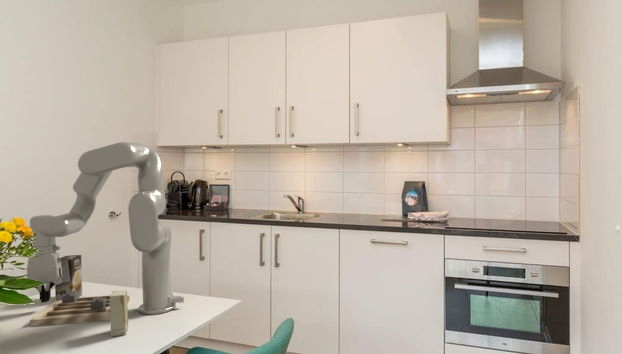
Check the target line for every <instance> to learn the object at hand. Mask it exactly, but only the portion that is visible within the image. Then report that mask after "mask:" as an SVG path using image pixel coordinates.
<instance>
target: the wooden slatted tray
mask: <svg viewBox="0 0 622 354" xmlns="http://www.w3.org/2000/svg"><path fill="white" fill-rule="evenodd" d="M98 297H101V298H106V307H105V308H96V309H91V305H90V302H91V301H92V300H93V299H97V298H98ZM129 302H130V295H127V304H129ZM99 321H101V322H102V321H110V295H99V296H98V295H97V296H83V297H78V301H77V302H72V303H62V300H58V301H56V300H54V301H52V302H51V303H49V304H48V305H47V306H46V307H45V308H44V309H41V310H40V311H39V312H38V313H37V314H35V316H33V317H32V318H30V319H29V326H30V327H35V326H37V327H38V326H49V325H50V326H51V325H62V324H74V323H75V324H76V323H77V324H78V323H87V322H88V323H89V322H99Z"/></svg>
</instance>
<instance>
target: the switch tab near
mask: <svg viewBox="0 0 622 354" xmlns="http://www.w3.org/2000/svg"><path fill="white" fill-rule="evenodd" d="M90 305H91V309H96V308H105V307H106V298H101V297H98V298H97V299H93V300H92V301H91V302H90Z"/></svg>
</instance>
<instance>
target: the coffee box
mask: <svg viewBox="0 0 622 354" xmlns="http://www.w3.org/2000/svg"><path fill="white" fill-rule="evenodd" d="M60 260H61V267H62V278H61V281H62V283H60V284H58V285H54V289H55V290H54V292H55V293H54V295H55V301H58V300H62V296H63V295H65V294H67V293H69V292H72V291H73V293H78V298H80V297H81V296H82V295H83V274H82V273H83V271H82V269H83V268H82V265H83V264H82V255H81V254H80V255H79V254H75V255H74V254H72V255H64V256H60Z"/></svg>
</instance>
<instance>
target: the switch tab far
mask: <svg viewBox="0 0 622 354" xmlns="http://www.w3.org/2000/svg"><path fill="white" fill-rule="evenodd" d="M78 298H79V297H78V293H73V291H72V292H69V293H67V294H65V295H63V296H62V303H72V302H77V301H78Z"/></svg>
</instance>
